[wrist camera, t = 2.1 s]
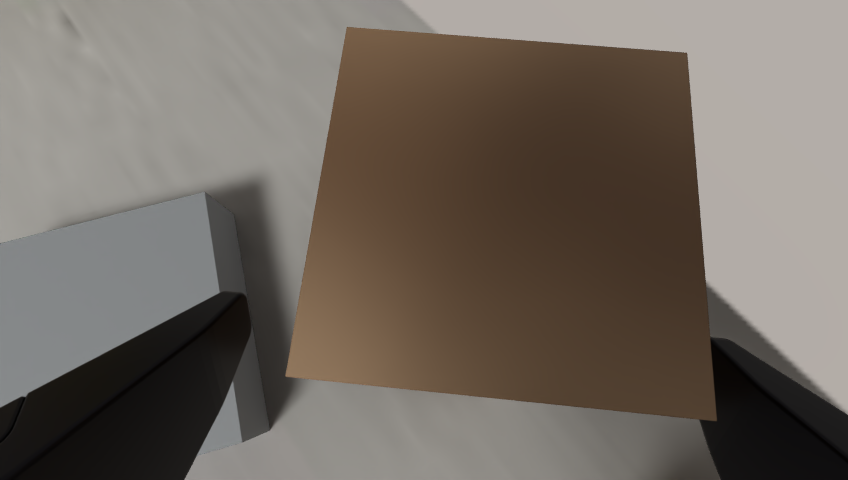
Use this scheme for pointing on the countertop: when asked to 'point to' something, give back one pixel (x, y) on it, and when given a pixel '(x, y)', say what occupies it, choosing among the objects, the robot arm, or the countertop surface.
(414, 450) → the countertop surface
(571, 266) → the walnut block
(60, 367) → the grey base block
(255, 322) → the countertop surface
